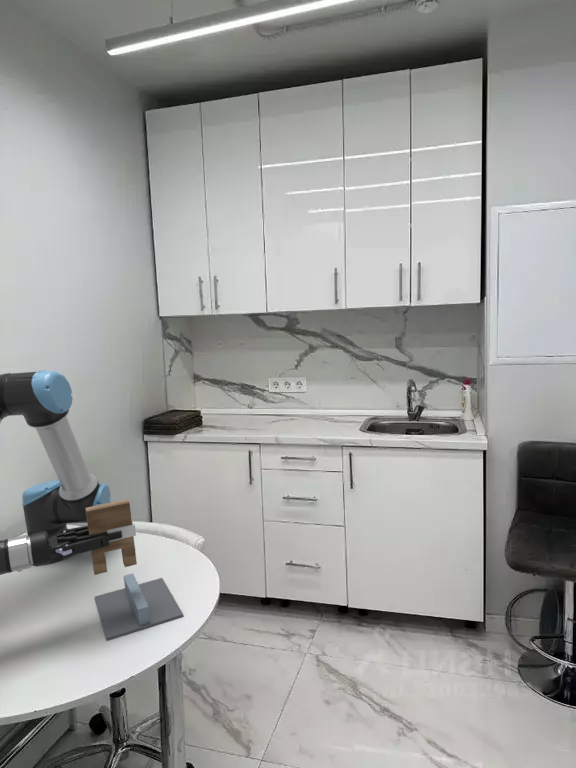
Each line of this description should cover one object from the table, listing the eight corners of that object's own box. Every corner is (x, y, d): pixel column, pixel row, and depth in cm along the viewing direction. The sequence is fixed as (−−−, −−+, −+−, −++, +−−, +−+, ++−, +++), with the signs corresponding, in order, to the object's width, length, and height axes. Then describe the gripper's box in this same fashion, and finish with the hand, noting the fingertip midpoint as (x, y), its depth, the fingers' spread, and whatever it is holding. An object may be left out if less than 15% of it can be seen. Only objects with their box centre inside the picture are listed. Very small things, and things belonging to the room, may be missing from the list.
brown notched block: (93, 570, 135) (85, 507, 132) (134, 559, 139) (127, 499, 137) (94, 575, 132) (86, 511, 130) (136, 564, 136) (129, 502, 134)
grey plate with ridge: (94, 598, 145) (92, 582, 144) (162, 579, 152) (160, 564, 152) (106, 640, 125) (104, 621, 124) (183, 616, 133) (181, 598, 132)
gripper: (33, 553, 134) (130, 530, 144) (33, 580, 120) (141, 553, 130) (28, 524, 133) (127, 503, 143) (28, 547, 119) (137, 523, 129)
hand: (133, 527), depth 136 cm, fingers closed on brown notched block, 3 cm apart
